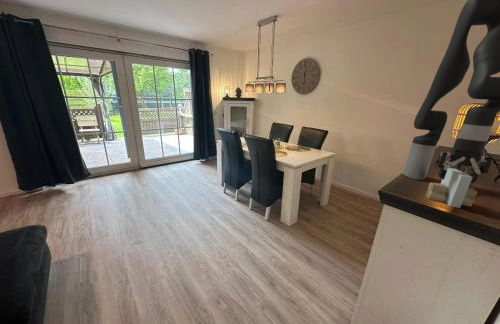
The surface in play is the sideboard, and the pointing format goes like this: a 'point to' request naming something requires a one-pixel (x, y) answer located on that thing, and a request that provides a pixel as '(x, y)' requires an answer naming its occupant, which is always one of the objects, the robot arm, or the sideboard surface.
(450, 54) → the robot arm
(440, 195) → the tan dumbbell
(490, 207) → the sideboard surface
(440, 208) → the sideboard surface
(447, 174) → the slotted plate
